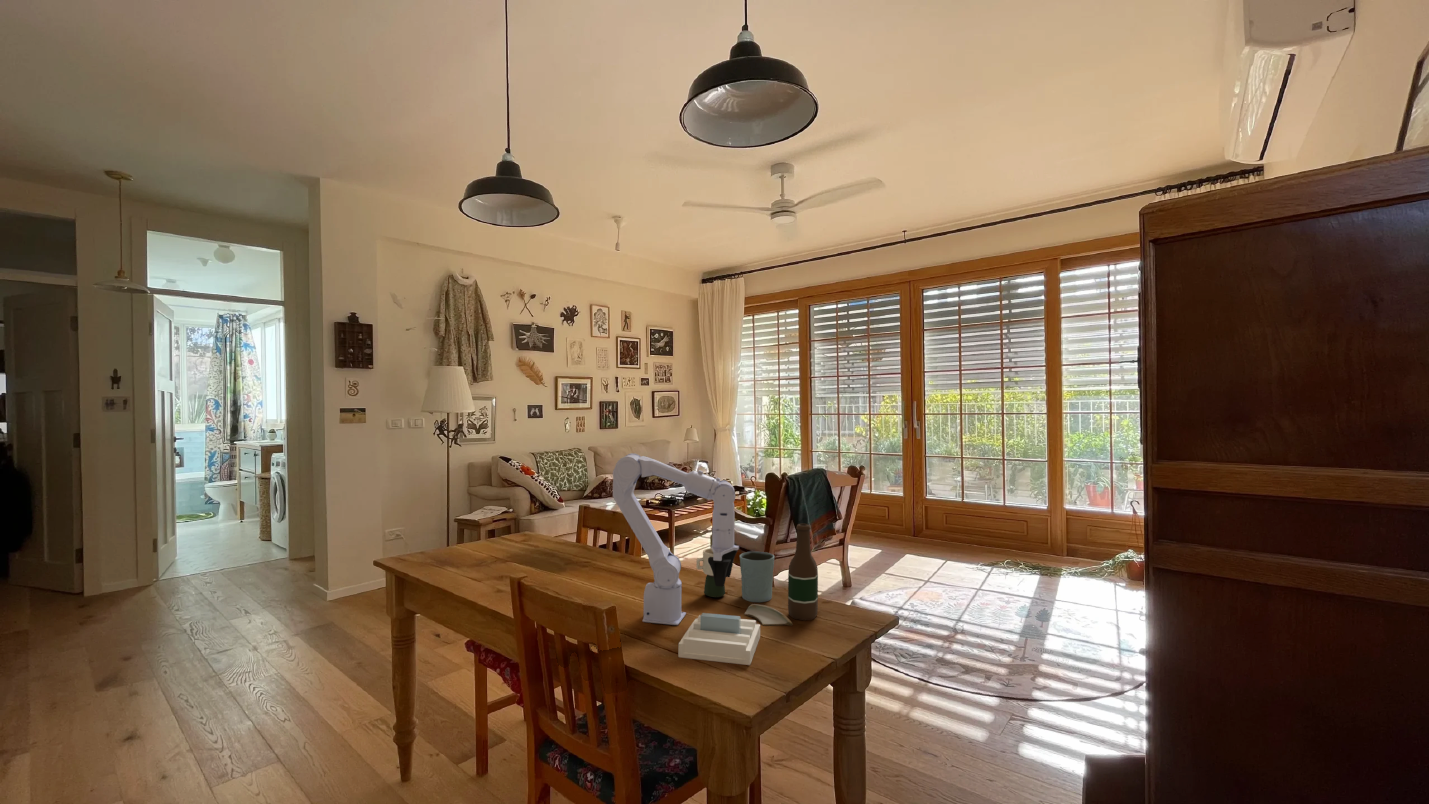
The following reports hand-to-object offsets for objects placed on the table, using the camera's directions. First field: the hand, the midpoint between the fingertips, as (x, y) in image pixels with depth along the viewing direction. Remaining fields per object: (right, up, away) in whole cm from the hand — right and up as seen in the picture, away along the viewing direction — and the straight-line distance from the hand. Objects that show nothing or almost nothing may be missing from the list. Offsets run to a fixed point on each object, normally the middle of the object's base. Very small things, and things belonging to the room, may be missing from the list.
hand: (723, 581), depth 148 cm
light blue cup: (+10, -10, +17) cm, 22 cm away
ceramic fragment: (+12, -11, 0) cm, 16 cm away
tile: (-1, -9, -16) cm, 19 cm away
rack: (-1, -10, -16) cm, 19 cm away
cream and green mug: (-2, -10, +18) cm, 21 cm away
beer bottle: (+21, -10, +3) cm, 24 cm away
